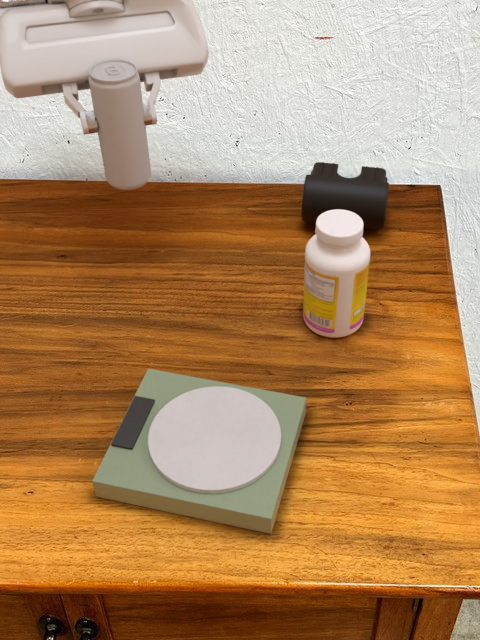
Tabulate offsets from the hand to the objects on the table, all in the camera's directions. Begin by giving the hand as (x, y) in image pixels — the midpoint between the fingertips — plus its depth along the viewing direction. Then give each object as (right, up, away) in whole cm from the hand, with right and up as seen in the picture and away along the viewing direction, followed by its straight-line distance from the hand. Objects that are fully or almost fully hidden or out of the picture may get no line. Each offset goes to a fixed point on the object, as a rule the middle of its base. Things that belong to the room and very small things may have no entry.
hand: (121, 127), depth 77 cm
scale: (+9, -32, -5) cm, 33 cm away
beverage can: (0, -4, +5) cm, 7 cm away
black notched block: (+24, -6, +20) cm, 32 cm away
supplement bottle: (+22, -19, +8) cm, 30 cm away
